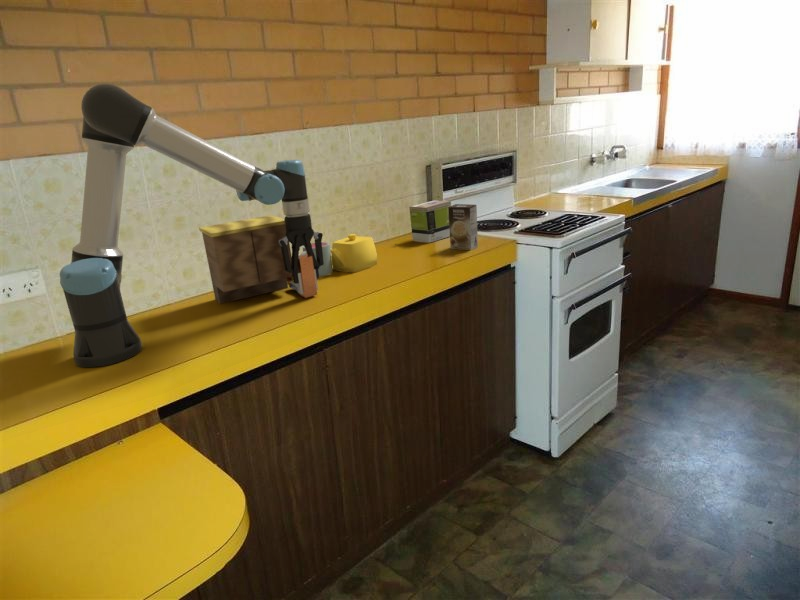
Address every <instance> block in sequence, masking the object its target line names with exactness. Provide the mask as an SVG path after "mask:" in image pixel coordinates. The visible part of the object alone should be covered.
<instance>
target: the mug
mask: <svg viewBox="0 0 800 600" xmlns="http://www.w3.org/2000/svg"><path fill="white" fill-rule="evenodd" d="M321 242H322V252H323V262H324V264H323V265H322V266H320V267H319V269H318V271H319V278H320V277H325V276H329V275H331V274H333V272H334V268H333V265H332V253H331V251H330V250H331V247H330V243H329V242H326V241H321ZM311 245H312V249H313V252H314V255H315V258H316V250H315V242H311ZM305 254H307V252H306V249H305V247H304V246H302V253H301V254H300V255H305ZM316 261H317V260H316Z"/></svg>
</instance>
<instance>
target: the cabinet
mask: <svg viewBox="0 0 800 600" xmlns="http://www.w3.org/2000/svg"><path fill="white" fill-rule="evenodd" d="M199 231H200V233H201V234H202V238H203V244H204V249H205V254H206V259H207V263H208V268H209V274H210V278H211V279H210V280H211V283H212V289H213V294H214V299H215V301H217V302H218V304H219V305H220V304H224V303H225V304H226V303H229V302H233V301H237V300H242V299H247V298H251V297H254V296H259V295H264V294H268V293H271V292H276V291H280V290H284V289H289V283H288V280H287V278H288V277H292V273H289V272H287V271H285V267H284V261H283V256H282V251H281V247H280V245H279V243H278V240H279V239H283V238H284V237H286V226H285V219H284V218H282V217H280V216H276V215H266V216H260V217H253V218H247V219H241V220H236V221H229V222H224V223H217V224H212V225H205V226H200V227H199ZM287 243H288V244H287V248H288V253H289V258H290V263H291V261H292V249H291V246H290V244H291V243H290V242H289V241H287ZM292 278H293V277H292Z"/></svg>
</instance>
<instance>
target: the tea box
mask: <svg viewBox="0 0 800 600" xmlns="http://www.w3.org/2000/svg"><path fill="white" fill-rule="evenodd" d="M450 206H452V201H451V200H435V199H434V200H431V201H427V202H423V203H418V204H416V205H415V204H414V205H410V206H409V207H408V208H409V216H410V226H411V237H412V241H413V242H418V243H425V244H427V243H433V242H434V243H435V242H436V241H440V240H442V239H443V240H444V239H446V238H450V228H449V210H448V207H450Z"/></svg>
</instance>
